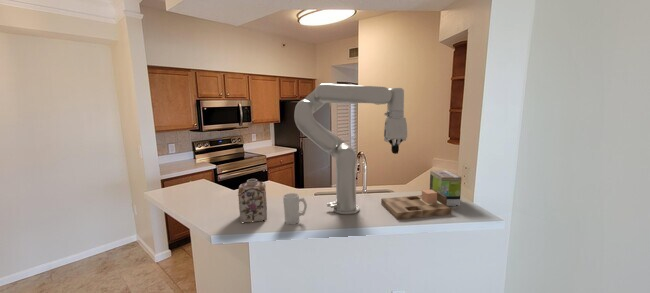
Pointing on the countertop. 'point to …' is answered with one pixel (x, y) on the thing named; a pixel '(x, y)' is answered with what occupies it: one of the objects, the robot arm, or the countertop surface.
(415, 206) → the board
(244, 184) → the decorative jar
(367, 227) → the countertop surface
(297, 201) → the mug
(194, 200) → the countertop surface
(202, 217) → the countertop surface
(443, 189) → the tea box
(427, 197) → the block
